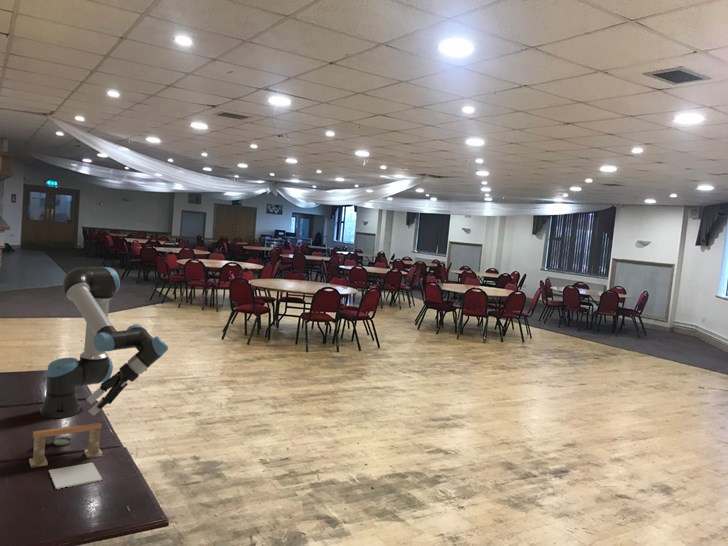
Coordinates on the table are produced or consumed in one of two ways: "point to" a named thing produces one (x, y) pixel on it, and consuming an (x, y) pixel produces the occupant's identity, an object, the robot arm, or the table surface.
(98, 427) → the bar
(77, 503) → the table surface
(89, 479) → the mat
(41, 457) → the posts
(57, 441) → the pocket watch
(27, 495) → the table surface
